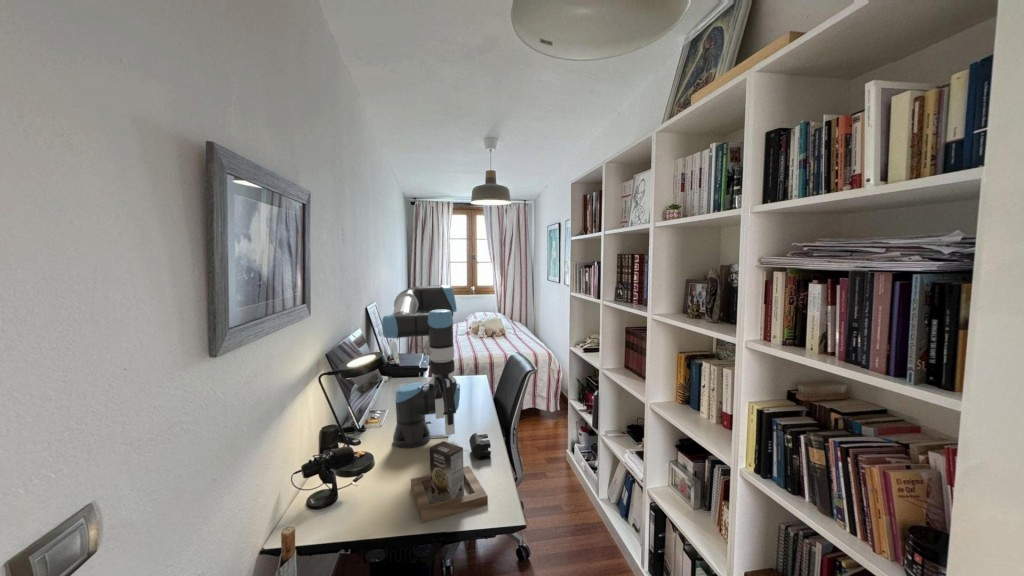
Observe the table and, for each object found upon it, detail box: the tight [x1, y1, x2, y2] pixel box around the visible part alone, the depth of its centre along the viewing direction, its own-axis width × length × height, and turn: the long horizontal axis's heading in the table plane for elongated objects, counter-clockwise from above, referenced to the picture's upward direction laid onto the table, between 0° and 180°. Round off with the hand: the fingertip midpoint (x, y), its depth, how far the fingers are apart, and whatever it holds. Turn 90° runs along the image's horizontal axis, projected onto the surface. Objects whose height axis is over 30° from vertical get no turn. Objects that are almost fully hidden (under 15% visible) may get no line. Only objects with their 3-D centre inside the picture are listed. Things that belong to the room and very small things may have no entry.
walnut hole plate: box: [410, 465, 489, 524], centre depth 130 cm, size 20×20×3 cm
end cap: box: [468, 432, 492, 461], centre depth 157 cm, size 10×7×7 cm
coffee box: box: [428, 440, 465, 502], centre depth 129 cm, size 9×6×16 cm
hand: (444, 425), depth 128 cm, fingers open, 13 cm apart
